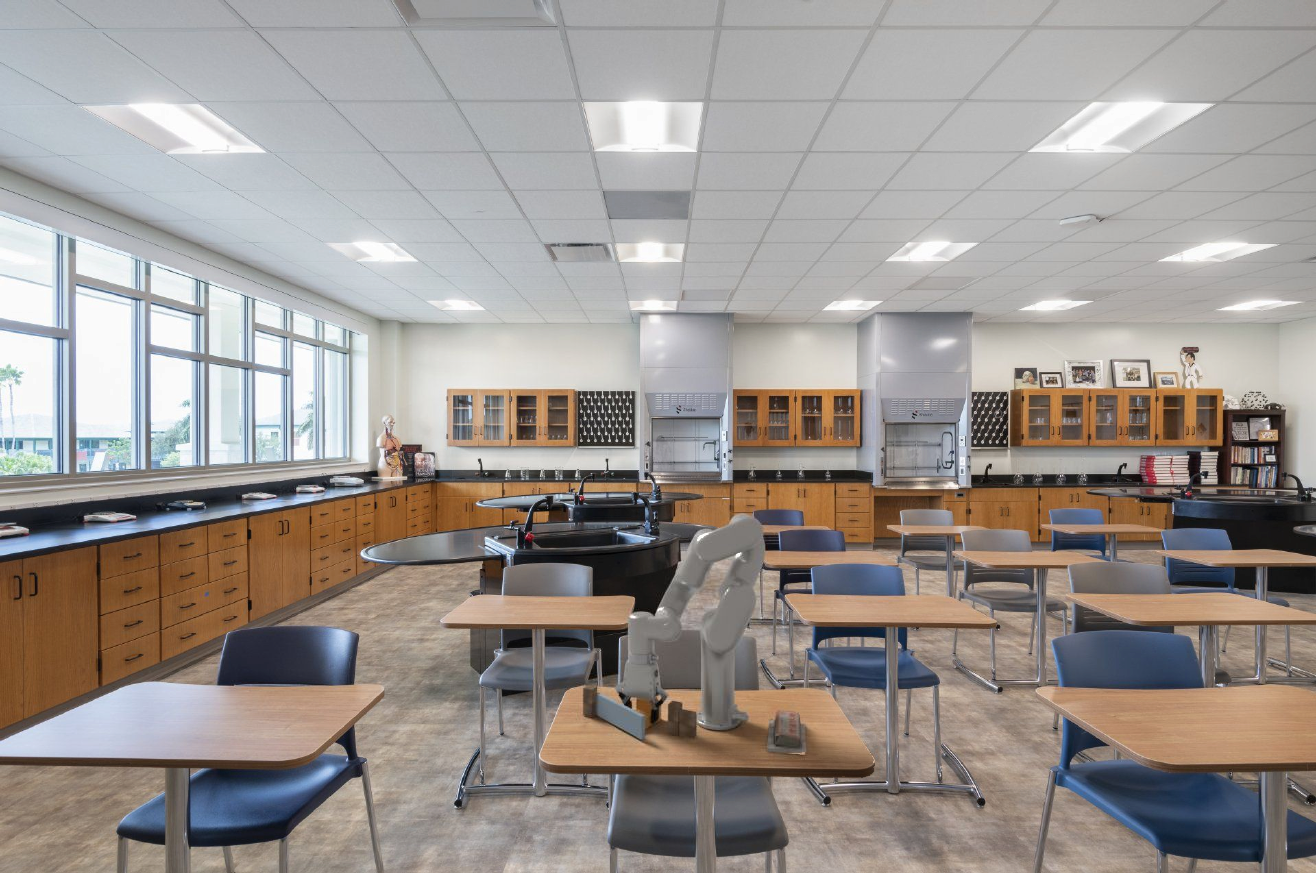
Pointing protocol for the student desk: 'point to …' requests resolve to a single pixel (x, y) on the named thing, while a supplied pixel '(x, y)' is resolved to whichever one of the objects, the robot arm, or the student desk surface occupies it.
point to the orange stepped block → (646, 710)
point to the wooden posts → (678, 718)
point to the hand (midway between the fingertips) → (641, 718)
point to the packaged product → (786, 733)
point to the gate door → (620, 715)
